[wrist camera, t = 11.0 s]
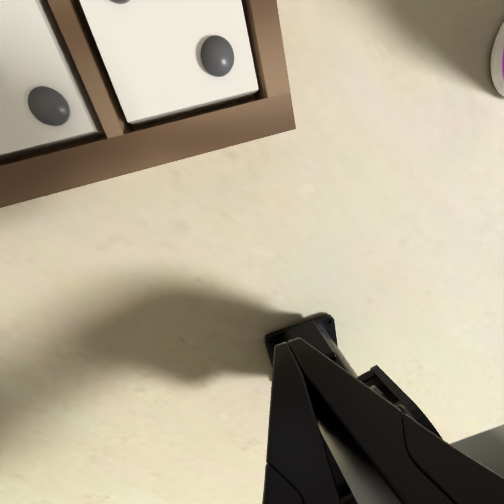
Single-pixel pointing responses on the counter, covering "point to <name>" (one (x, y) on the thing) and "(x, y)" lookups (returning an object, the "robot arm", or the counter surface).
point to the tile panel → (159, 133)
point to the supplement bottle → (498, 61)
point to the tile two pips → (173, 55)
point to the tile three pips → (39, 84)
